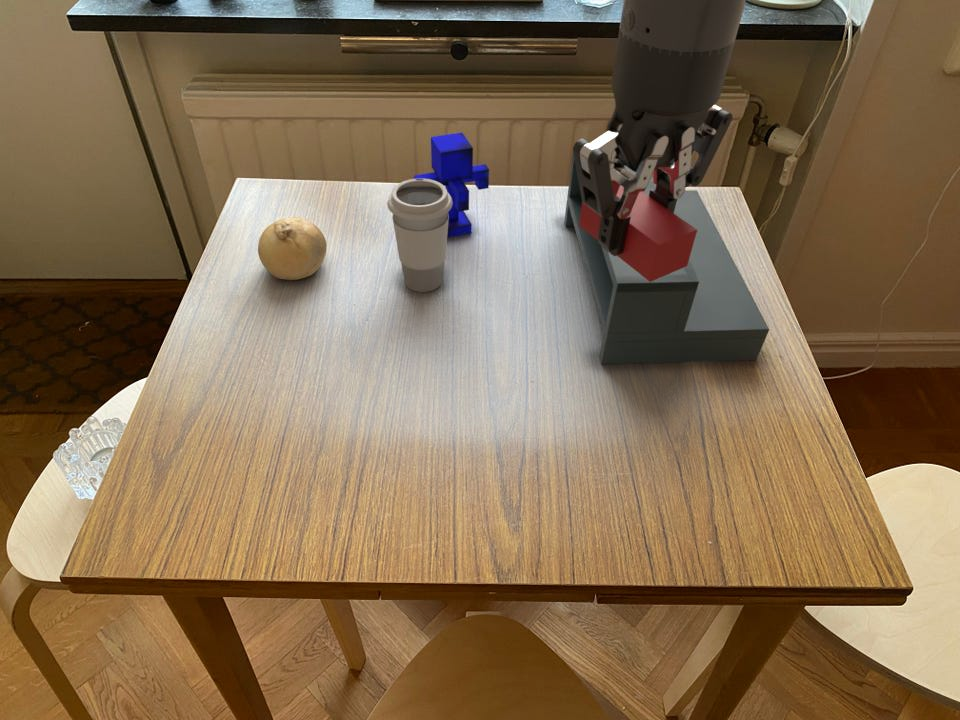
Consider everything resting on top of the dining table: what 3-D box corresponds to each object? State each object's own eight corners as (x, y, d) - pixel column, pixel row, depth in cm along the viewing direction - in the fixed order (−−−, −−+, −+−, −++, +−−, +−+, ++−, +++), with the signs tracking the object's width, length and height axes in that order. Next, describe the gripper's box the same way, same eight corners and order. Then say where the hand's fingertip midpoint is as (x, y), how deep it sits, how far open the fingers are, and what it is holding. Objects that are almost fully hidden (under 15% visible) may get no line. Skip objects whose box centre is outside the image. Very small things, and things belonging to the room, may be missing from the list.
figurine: (412, 234, 91) (408, 148, 83) (440, 205, 96) (438, 122, 88) (465, 250, 89) (465, 163, 81) (490, 220, 94) (493, 135, 86)
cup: (452, 262, 87) (451, 175, 79) (454, 297, 83) (453, 208, 74) (394, 263, 87) (387, 176, 78) (392, 298, 82) (385, 209, 74)
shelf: (756, 360, 76) (790, 279, 68) (601, 364, 75) (617, 283, 67) (689, 219, 95) (709, 143, 88) (564, 221, 94) (573, 145, 87)
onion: (254, 260, 87) (241, 210, 82) (315, 242, 90) (306, 193, 85) (276, 296, 82) (264, 246, 77) (340, 276, 85) (332, 226, 80)
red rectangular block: (687, 266, 57) (697, 229, 54) (650, 282, 55) (658, 245, 53) (614, 212, 62) (621, 176, 60) (578, 225, 60) (583, 189, 58)
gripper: (633, 67, 41) (593, 294, 53) (797, 23, 47) (727, 238, 59) (556, 25, 46) (536, 244, 58) (714, -10, 51) (665, 196, 63)
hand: (633, 240), depth 58 cm, fingers closed on red rectangular block, 4 cm apart
